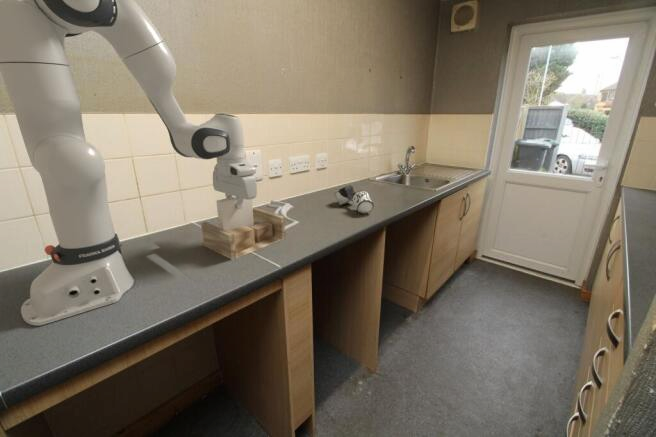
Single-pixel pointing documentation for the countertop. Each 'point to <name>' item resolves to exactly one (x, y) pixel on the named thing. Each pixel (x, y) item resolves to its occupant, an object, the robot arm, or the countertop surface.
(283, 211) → the molding
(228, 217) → the white square panel
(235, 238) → the oak offcut
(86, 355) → the countertop surface
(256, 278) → the countertop surface
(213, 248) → the offcut rack
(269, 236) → the walnut offcut
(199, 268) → the countertop surface
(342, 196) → the patterned dumbbell
